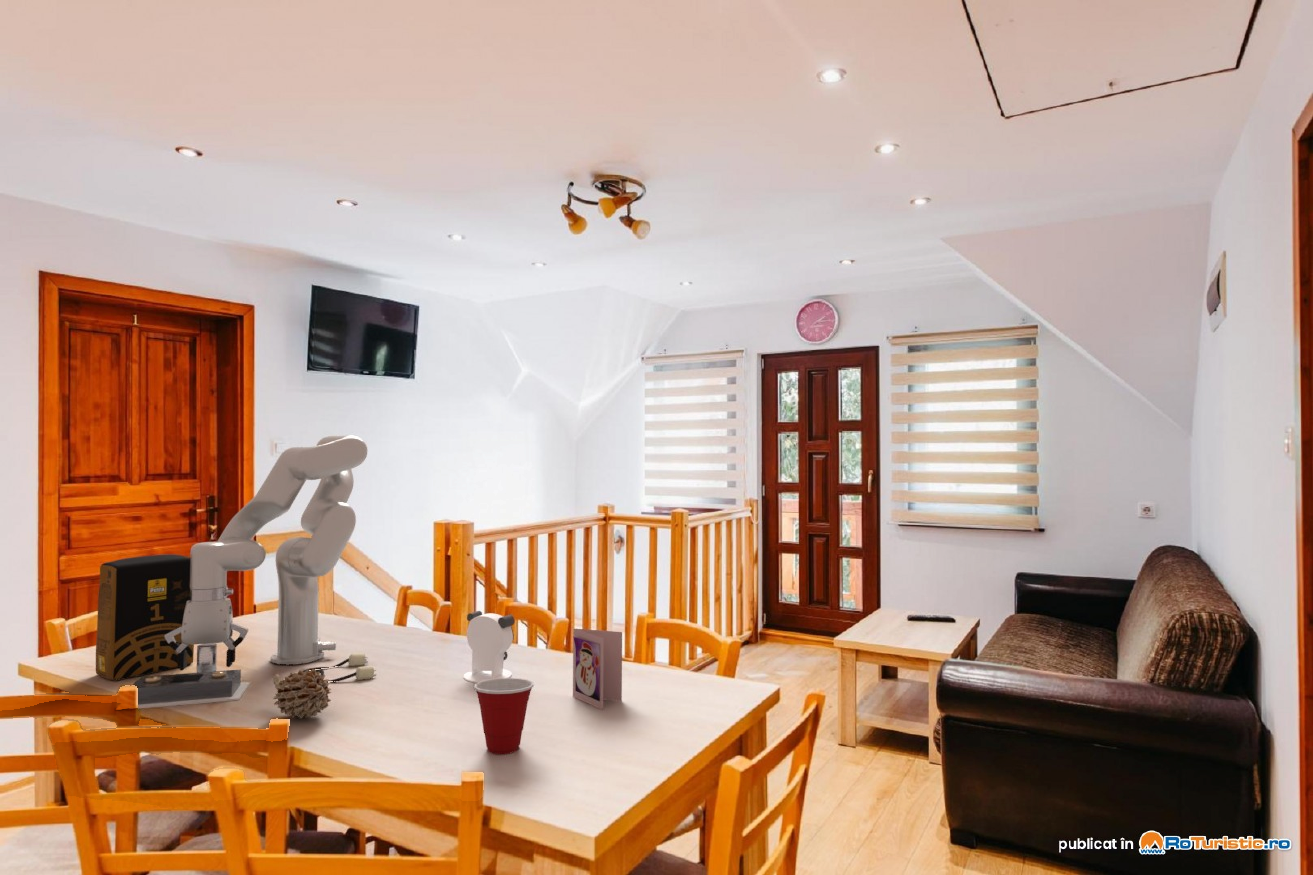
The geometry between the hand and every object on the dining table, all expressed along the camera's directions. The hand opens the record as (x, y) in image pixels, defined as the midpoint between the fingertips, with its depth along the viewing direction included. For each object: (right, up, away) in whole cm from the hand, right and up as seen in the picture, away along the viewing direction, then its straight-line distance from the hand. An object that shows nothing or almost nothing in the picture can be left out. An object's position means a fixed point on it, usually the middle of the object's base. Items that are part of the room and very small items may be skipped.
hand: (206, 667), depth 177 cm
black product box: (-19, -3, +7) cm, 21 cm away
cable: (+30, -4, +5) cm, 31 cm away
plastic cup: (+79, -3, -40) cm, 88 cm away
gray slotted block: (+3, -3, -13) cm, 13 cm away
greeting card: (+94, -3, -13) cm, 95 cm away
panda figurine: (+66, -4, +4) cm, 66 cm away
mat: (+3, -3, -13) cm, 13 cm away
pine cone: (+32, -3, -23) cm, 40 cm away
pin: (0, -3, 0) cm, 3 cm away
